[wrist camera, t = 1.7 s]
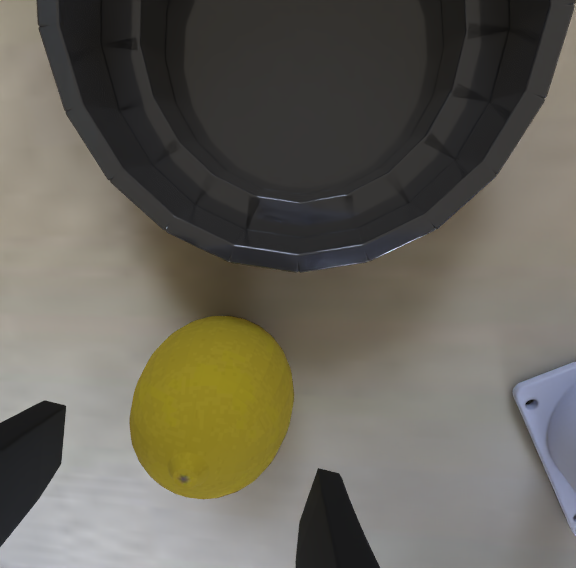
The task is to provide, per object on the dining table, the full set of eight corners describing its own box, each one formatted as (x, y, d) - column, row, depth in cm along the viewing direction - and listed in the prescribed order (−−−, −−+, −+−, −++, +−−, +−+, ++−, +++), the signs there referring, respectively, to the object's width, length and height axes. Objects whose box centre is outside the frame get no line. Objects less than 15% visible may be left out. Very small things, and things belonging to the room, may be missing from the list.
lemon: (291, 283, 18) (271, 386, 10) (303, 395, 20) (294, 554, 12) (166, 293, 18) (60, 399, 11) (189, 401, 20) (111, 558, 12)
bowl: (543, 135, 15) (644, 131, 11) (236, 288, 18) (208, 339, 13) (398, -292, 12) (451, -575, 7) (49, -27, 15) (-77, -108, 10)
